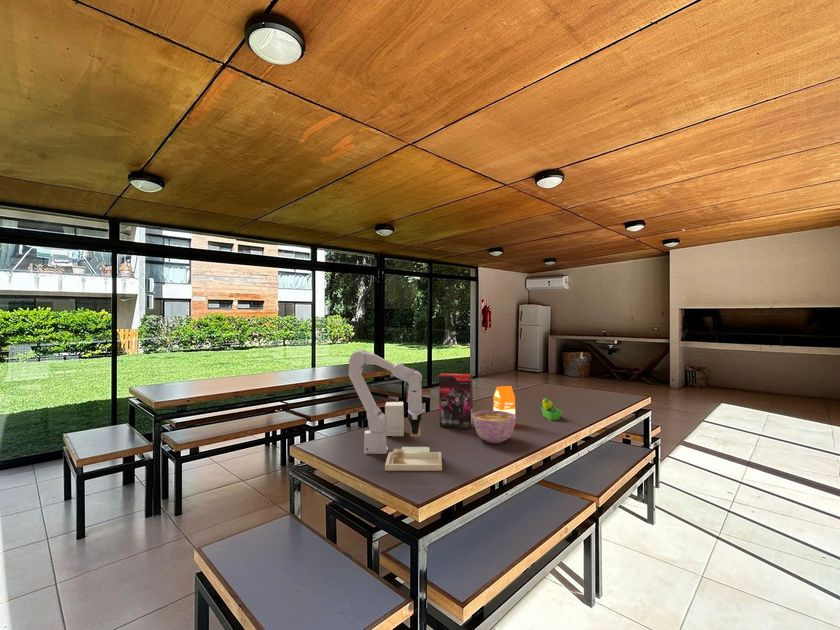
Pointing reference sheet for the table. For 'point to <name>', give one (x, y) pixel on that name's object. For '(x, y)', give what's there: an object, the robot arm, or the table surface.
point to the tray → (416, 462)
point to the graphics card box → (456, 400)
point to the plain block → (398, 456)
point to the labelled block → (416, 434)
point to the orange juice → (504, 399)
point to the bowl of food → (494, 425)
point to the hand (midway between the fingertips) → (415, 432)
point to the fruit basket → (550, 410)
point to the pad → (416, 449)
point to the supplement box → (394, 418)
